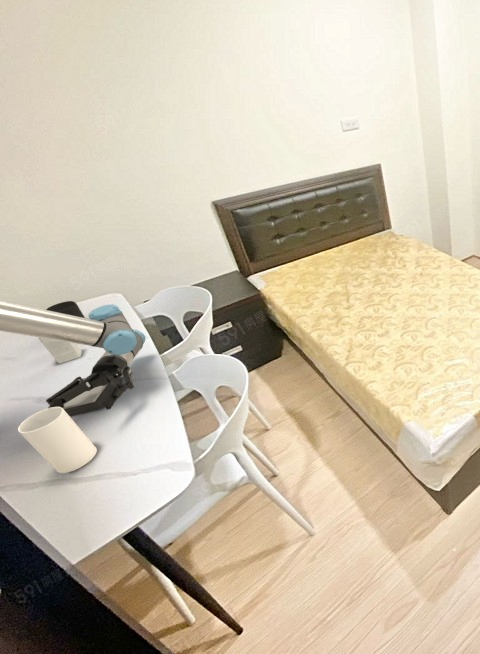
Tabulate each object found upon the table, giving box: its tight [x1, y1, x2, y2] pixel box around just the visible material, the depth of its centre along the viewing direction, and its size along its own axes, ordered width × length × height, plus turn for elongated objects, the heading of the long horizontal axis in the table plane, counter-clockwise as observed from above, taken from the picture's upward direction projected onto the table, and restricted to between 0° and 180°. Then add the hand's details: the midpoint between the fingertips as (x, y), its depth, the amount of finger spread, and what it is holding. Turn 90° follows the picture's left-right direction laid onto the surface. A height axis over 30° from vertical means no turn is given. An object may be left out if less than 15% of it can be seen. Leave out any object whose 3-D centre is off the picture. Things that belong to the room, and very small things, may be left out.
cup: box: [17, 407, 98, 474], centre depth 104 cm, size 8×8×16 cm
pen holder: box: [45, 300, 86, 318], centre depth 160 cm, size 9×9×10 cm
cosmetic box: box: [37, 337, 83, 365], centre depth 143 cm, size 6×4×12 cm
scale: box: [63, 376, 123, 417], centre depth 126 cm, size 14×14×3 cm
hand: (76, 413), depth 110 cm, fingers open, 13 cm apart
